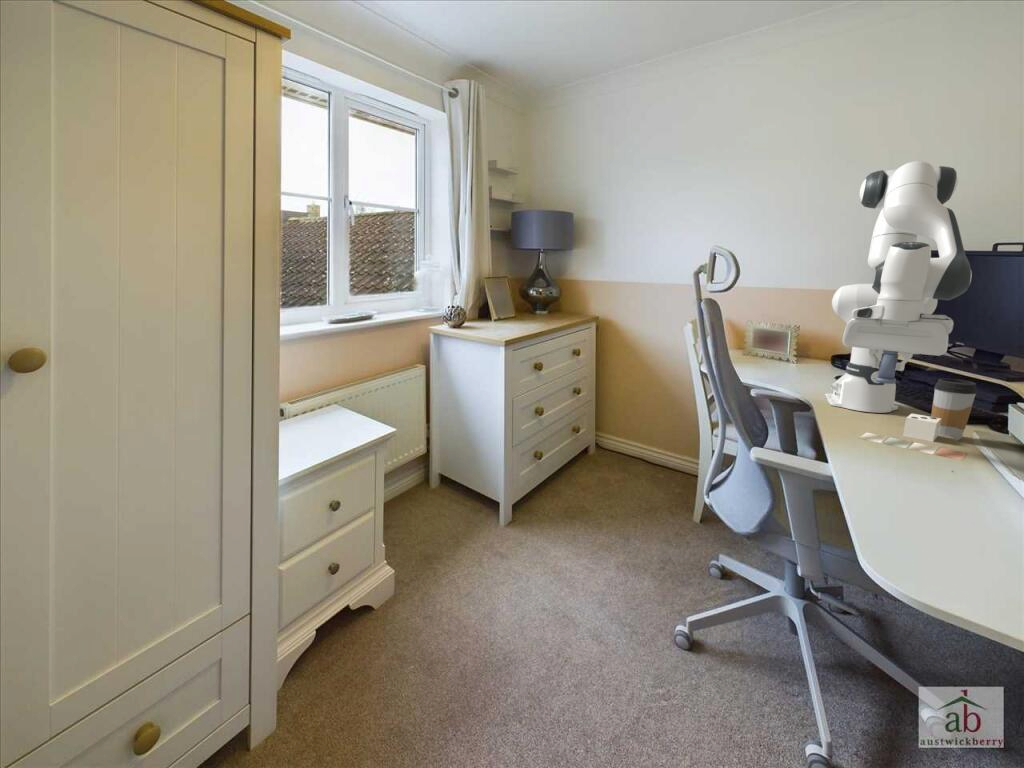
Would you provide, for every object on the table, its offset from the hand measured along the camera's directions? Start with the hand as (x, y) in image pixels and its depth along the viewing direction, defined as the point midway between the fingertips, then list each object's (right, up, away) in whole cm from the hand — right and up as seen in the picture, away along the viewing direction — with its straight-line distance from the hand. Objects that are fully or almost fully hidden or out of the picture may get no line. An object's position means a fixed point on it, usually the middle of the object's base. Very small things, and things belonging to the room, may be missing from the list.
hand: (887, 369), depth 119 cm
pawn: (0, -3, +1) cm, 3 cm away
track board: (+5, -20, -1) cm, 20 cm away
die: (+13, -18, +6) cm, 23 cm away
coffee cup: (+22, -18, +9) cm, 30 cm away
